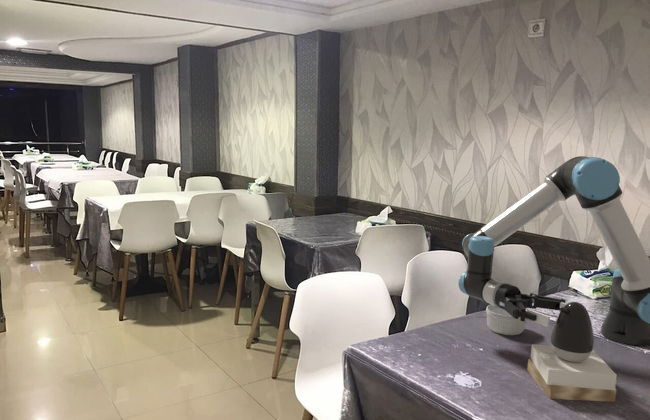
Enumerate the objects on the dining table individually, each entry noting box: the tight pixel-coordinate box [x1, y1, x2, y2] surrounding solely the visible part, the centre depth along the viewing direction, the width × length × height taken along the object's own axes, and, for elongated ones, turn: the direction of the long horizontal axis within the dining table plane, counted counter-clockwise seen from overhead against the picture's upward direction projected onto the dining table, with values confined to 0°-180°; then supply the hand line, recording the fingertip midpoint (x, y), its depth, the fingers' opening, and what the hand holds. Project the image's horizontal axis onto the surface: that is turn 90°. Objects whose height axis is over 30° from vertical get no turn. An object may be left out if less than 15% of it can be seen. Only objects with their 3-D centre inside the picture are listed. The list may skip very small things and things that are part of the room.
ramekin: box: [485, 304, 527, 336], centre depth 176 cm, size 13×13×7 cm
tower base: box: [527, 358, 617, 403], centre depth 138 cm, size 16×16×4 cm
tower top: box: [530, 344, 618, 390], centre depth 137 cm, size 16×16×4 cm
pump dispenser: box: [550, 301, 595, 362], centre depth 136 cm, size 10×10×15 cm
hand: (565, 318), depth 137 cm, fingers open, 13 cm apart
